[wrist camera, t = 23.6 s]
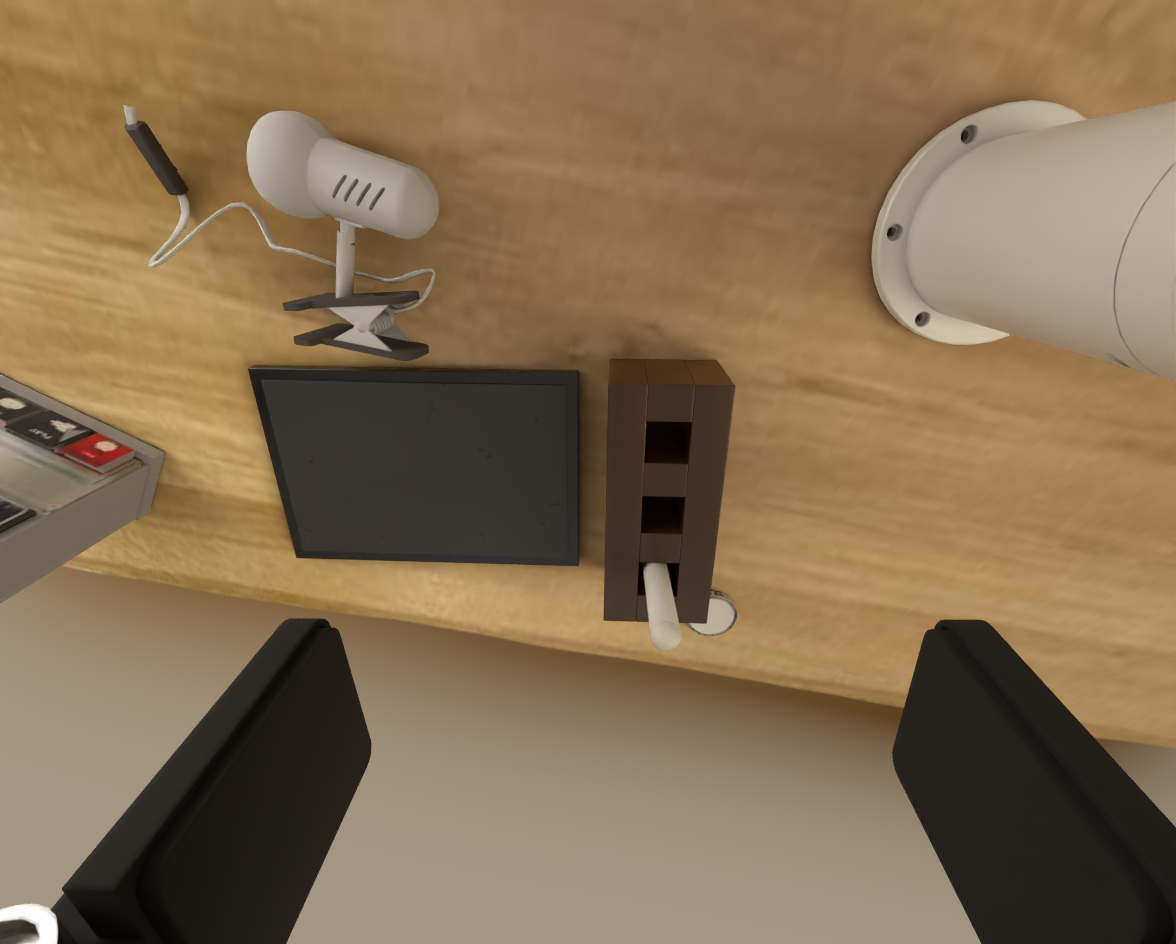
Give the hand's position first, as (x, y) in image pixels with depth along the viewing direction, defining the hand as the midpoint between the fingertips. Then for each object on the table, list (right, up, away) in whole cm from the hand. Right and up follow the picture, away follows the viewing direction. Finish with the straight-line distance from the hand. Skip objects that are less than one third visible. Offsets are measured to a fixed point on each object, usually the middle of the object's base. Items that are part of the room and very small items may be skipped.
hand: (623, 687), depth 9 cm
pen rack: (+4, +3, +30) cm, 31 cm away
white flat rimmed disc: (+9, -8, +35) cm, 37 cm away
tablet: (-12, +4, +31) cm, 33 cm away
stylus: (+4, -1, +33) cm, 33 cm away
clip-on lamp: (-18, +18, +25) cm, 35 cm away
